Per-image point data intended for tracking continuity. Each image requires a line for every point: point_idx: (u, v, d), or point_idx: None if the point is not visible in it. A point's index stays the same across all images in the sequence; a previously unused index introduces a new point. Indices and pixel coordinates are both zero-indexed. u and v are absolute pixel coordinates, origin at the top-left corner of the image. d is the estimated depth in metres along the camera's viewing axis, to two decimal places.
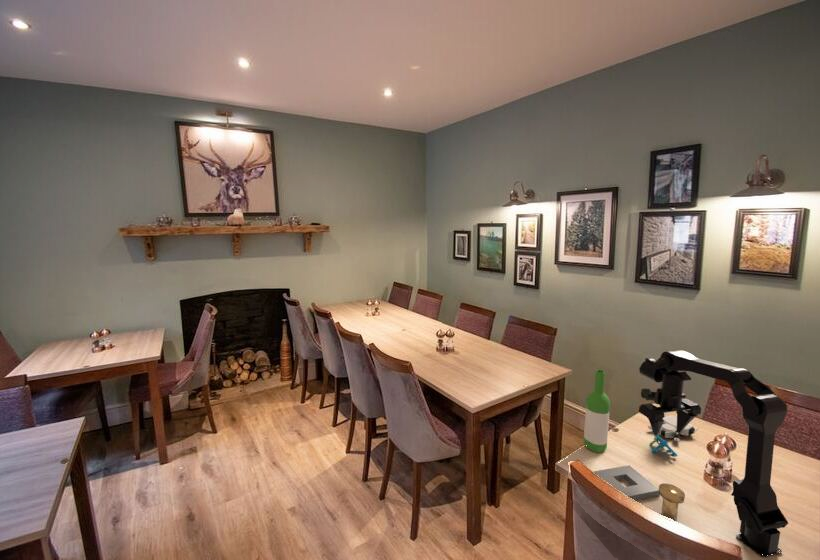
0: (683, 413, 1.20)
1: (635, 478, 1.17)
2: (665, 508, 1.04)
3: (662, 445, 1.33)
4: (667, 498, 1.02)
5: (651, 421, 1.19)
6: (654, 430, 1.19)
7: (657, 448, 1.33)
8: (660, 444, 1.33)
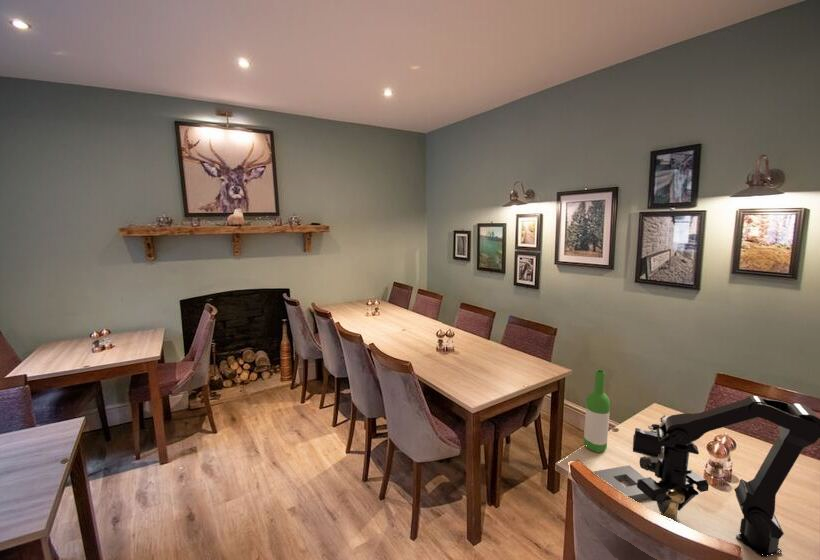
0: (682, 489, 1.04)
1: (635, 478, 1.17)
2: None
3: None
4: None
5: None
6: (660, 507, 1.04)
7: None
8: None
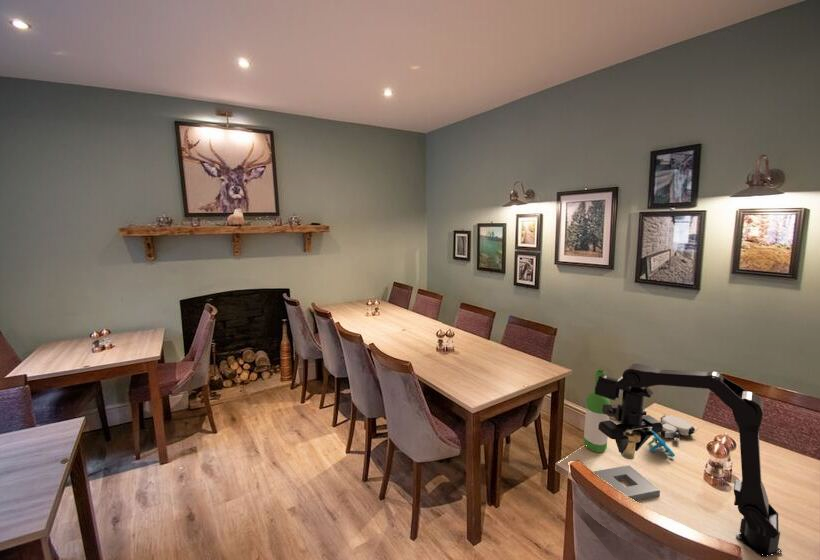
0: (639, 431, 1.14)
1: (635, 478, 1.17)
2: None
3: (660, 444, 1.33)
4: None
5: (616, 438, 1.14)
6: (619, 448, 1.14)
7: (655, 447, 1.34)
8: (658, 443, 1.33)
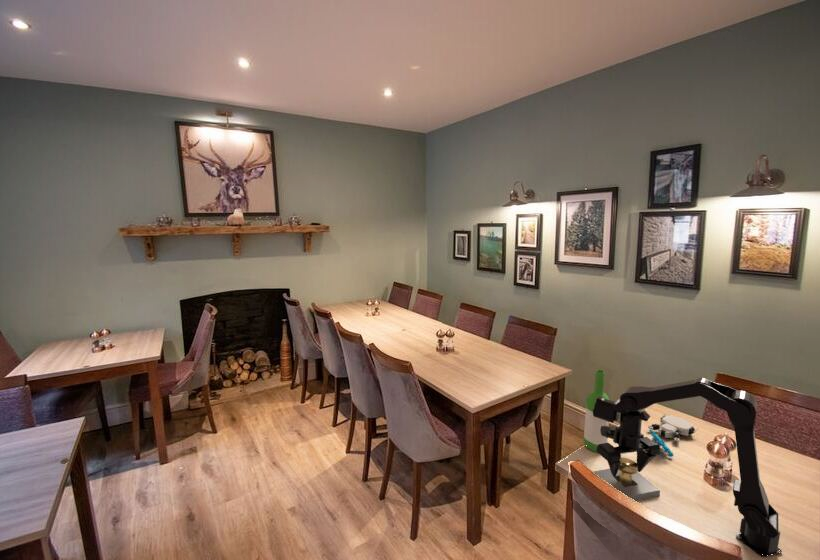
0: (642, 453, 1.16)
1: (635, 478, 1.17)
2: (621, 479, 1.16)
3: (658, 444, 1.33)
4: (622, 469, 1.14)
5: (609, 461, 1.15)
6: (612, 471, 1.15)
7: None
8: (657, 443, 1.34)
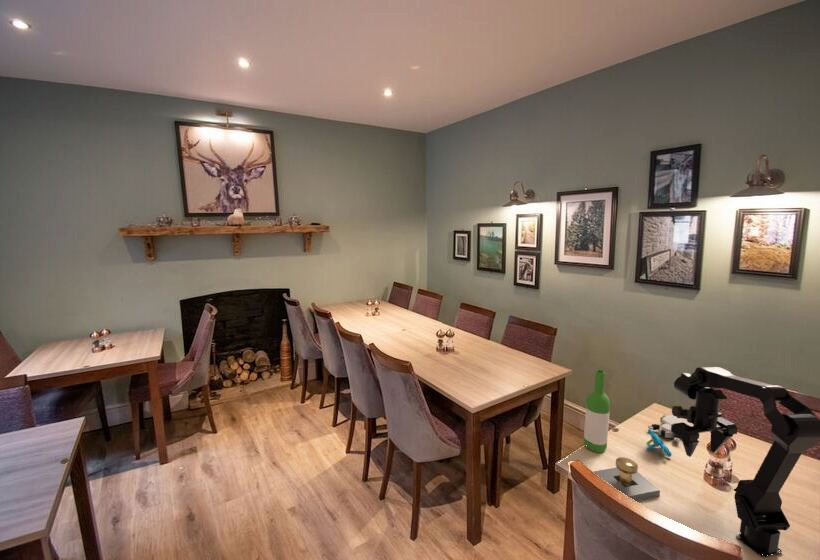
0: (718, 433, 1.13)
1: (635, 478, 1.17)
2: (621, 479, 1.16)
3: (657, 444, 1.33)
4: (622, 469, 1.14)
5: (684, 441, 1.13)
6: (687, 451, 1.12)
7: (652, 446, 1.34)
8: (655, 443, 1.34)
